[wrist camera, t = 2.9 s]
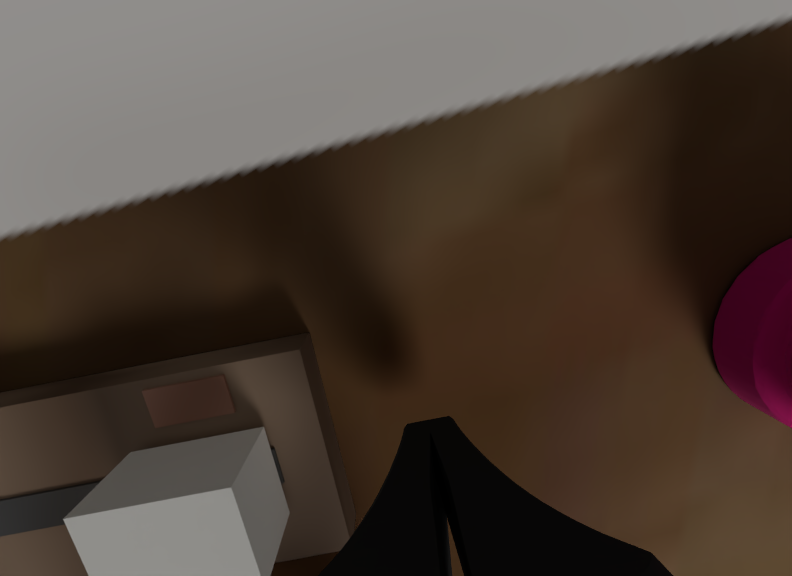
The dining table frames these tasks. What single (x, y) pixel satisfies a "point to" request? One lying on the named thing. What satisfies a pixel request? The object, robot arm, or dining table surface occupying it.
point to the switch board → (168, 443)
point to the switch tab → (185, 511)
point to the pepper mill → (759, 334)
